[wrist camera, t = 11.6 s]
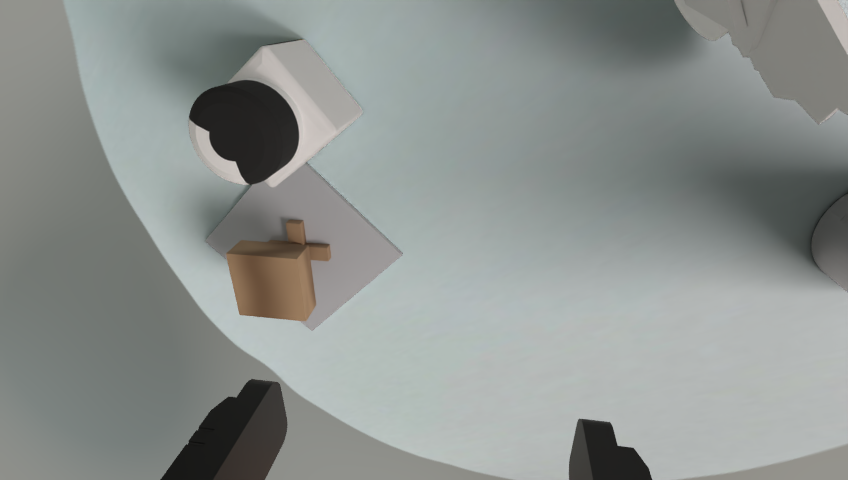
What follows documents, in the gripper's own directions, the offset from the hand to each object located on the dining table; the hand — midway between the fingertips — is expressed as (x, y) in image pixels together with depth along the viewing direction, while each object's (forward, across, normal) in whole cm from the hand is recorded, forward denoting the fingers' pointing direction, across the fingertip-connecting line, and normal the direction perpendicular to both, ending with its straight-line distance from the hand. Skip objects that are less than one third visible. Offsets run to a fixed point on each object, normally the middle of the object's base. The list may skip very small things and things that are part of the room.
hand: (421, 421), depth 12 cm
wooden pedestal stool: (+28, +16, +11) cm, 34 cm away
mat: (+28, +16, +11) cm, 34 cm away
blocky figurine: (+28, +14, -3) cm, 32 cm away
